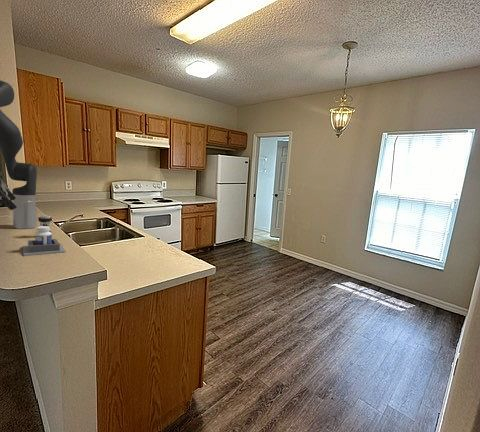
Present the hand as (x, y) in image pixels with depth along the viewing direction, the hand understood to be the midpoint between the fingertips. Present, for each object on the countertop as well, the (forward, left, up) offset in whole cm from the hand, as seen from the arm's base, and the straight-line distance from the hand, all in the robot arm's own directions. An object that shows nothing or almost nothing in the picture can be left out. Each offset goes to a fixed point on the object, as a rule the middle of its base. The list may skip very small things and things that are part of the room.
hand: (13, 204), depth 100 cm
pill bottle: (-2, +10, -18) cm, 20 cm away
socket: (-2, +10, -18) cm, 20 cm away
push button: (-21, -2, -18) cm, 28 cm away
